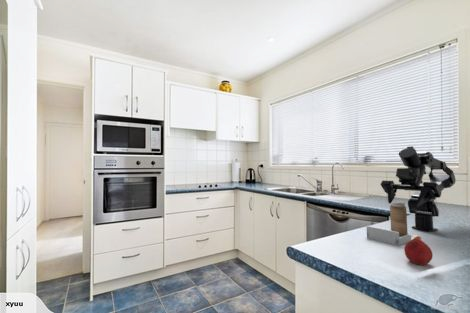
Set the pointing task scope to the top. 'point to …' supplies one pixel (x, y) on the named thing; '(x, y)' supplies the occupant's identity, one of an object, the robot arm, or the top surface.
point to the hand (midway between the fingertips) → (402, 204)
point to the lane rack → (388, 235)
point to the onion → (418, 251)
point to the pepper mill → (398, 218)
